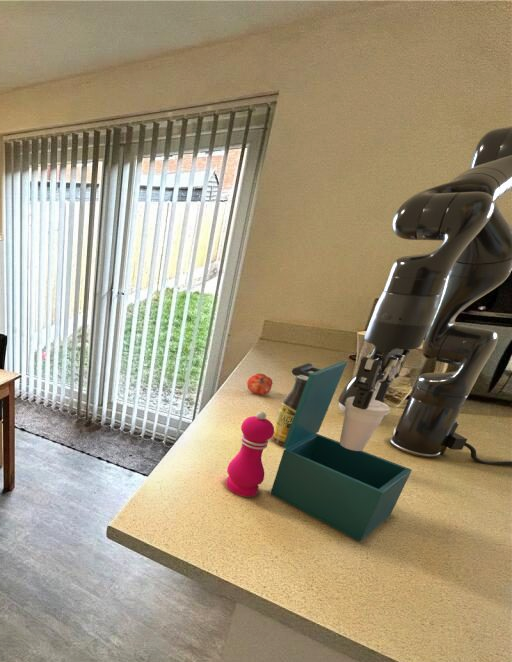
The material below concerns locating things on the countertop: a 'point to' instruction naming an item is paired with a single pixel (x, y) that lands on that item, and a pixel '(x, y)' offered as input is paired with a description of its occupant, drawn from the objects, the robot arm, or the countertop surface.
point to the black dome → (349, 393)
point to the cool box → (339, 485)
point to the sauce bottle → (288, 410)
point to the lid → (313, 400)
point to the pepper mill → (250, 456)
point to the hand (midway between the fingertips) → (367, 403)
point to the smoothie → (361, 422)
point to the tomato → (259, 384)
